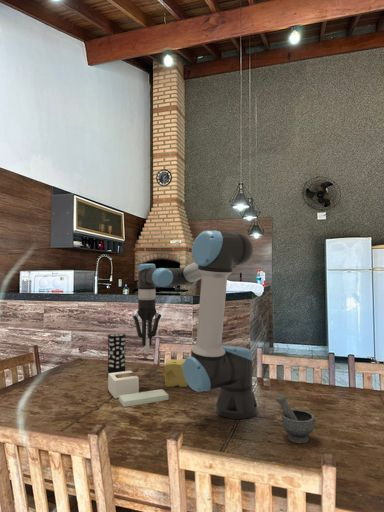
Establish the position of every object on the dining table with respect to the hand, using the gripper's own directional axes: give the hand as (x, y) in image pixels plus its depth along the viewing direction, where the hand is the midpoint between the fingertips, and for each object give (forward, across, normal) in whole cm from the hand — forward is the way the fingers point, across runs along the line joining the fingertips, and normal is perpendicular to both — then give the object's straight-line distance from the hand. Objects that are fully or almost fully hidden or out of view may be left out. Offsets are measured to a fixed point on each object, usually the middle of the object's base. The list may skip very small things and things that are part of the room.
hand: (146, 353), depth 159 cm
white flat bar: (+15, +5, +13) cm, 21 cm away
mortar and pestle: (+15, -27, +65) cm, 72 cm away
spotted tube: (+16, +7, -24) cm, 30 cm away
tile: (+11, +6, 0) cm, 13 cm away
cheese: (+16, -15, -1) cm, 21 cm away
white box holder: (+15, +10, 0) cm, 19 cm away
